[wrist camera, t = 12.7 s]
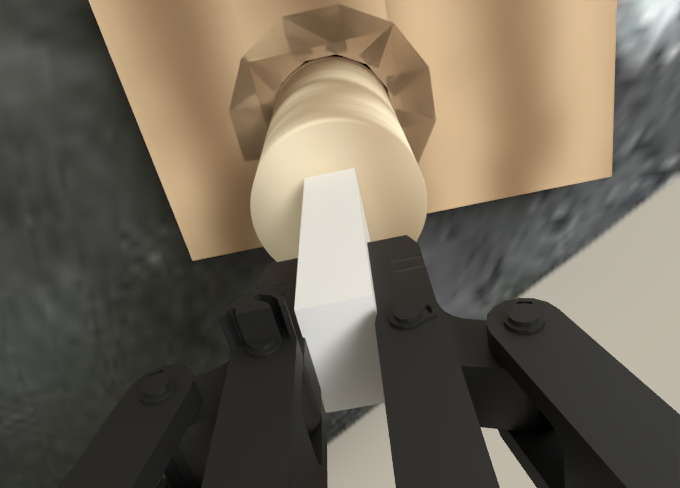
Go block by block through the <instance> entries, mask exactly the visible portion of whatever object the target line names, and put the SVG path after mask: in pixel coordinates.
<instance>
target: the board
mask: <svg viewBox="0 0 680 488" xmlns="http://www.w3.org/2000/svg"><path fill="white" fill-rule="evenodd" d="M89 3H90V5H91V8H92V10H93V13H94V15H95V18H96V20H97V23H98V25H99V28H100V30H101V33H102V35H103V38H104V40H105V43H106V45H107V48H108V50H109V53H110V55H111V58H112V60H113V63H114V65H115V68H116V70H117V73H118V75H119V78H120V80H121V83H122V85H123V88H124V90H125V93H126V95H127V98H128V100H129V103H130V105H131V108H132V110H133V113H134V115H135V118H136V120H137V123H138V125H139V128H140V130H141V133H142V135H143V138H144V140H145V143H146V145H147V148H148V150H149V153H150V155H151V158H152V160H153V163H154V165H155V168H156V170H157V173H158V175H159V178H160V180H161V183H162V185H163V188H164V190H165V193H166V195H167V198H168V200H169V203H170V205H171V208H172V210H173V213H174V216H175V218H176V221H177V223H178V226H179V228H180V231H181V233H182V236H183V238H184V241H185V243H186V246H187V248H188V251H189V253H190V256H191V258H192V261H195V260H200V259H205V258H210V257H215V256H219V255H224V254H229V253H234V252H239V251H244V250H249V249H254V248H259V247H263V245H262V244H261V242H260V240H259V238H258V236H257V234H256V232H255V229H254V226H253V222H252V218H251V210H250V199H251V191H252V186H253V182H254V179H255V175H256V171H257V168H258V164H259V161H260V157H261V153H262V150H263V146H264V143H265V139H266V135H267V132H268V128H269V125H270V121H271V117H272V114H273V107H274V102H275V99H276V96H277V93H278V91H279V89H280V87H281V85H282V83H283V82H284V81H285V79H286V78H287V77H288V76H289V75H290V74H291V73H292V72H293V71H294V70H295V69H296V68H298V67H299V66H300V65H301V64H302V63H303V62H304V61H308V60H313V59H317V58H321V57H326V56H330V55H335V54H337V55H340V56H343V57H346V58H349V59H352V60H355V61H358V62H361V63H364V64H367V65H368V66H369V67H370V68H371V70H372V71H373V72H374V73H375V74H376V76H377V77H378V78H379V79H380V80H381V81H382V83H383V86H384V88H385V89H386V91H387V94H388V96H389V99H390V102H391V105H392V108H393V110H394V112H395V114H396V117H397V119H398V121H399V123H400V125H401V128H402V130H403V132H404V134H405V137H406V139H407V141H408V143H409V146H410V148H411V150H412V152H413V155H414V157H415V159H416V161H417V164H418V166H419V168H420V170H421V173H422V175H423V178H424V181H425V185H426V189H427V199H428V205H427V213H432V212H437V211H442V210H447V209H452V208H457V207H462V206H467V205H472V204H477V203H482V202H487V201H492V200H497V199H502V198H507V197H512V196H517V195H521V194H526V193H531V192H536V191H541V190H546V189H551V188H556V187H561V186H566V185H571V184H576V183H581V182H586V181H591V180H596V179H601V178H606V177H611V176H612V150H613V115H614V81H615V46H616V11H617V0H89Z"/></svg>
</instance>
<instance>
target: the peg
mask: <svg viewBox="0 0 680 488" xmlns="http://www.w3.org/2000/svg"><path fill="white" fill-rule="evenodd" d="M351 168H355V171H356V176H357V181H358V185H359V190H360V195H361V200H362V204H363V209H364V214H365V218H366V223H367V228H368V232H369V237H370V242H373V241H378V240H383V239H388V238H393V237H398V236H403V235H408V236H409V237H410V238H412V239H413V240H414V241H416V242H417V240H418V238H419V236H420V234H421V232H422V229H423V226H424V223H425V219H426V215H427V205H428V199H427V189H426V185H425V181H424V178H423V175H422V173H421V170H420V168H419V166H418V164H417V161H416V159H415V157H414V155H413V152H412V150H411V148H410V146H409V143H408V141H407V139H406V137H405V134H404V132H403V130H402V128H401V125H400V123H399V121H398V119H397V117H396V114H395V112H394V110H393V108H392V105H391V102H390V99H389V96H388V94H387V91H386V89H385V88H384V86H383V84H382V82H381V81H380V80H379V78H378V77H377V76H376V75H375V74H374V73H373V72H372V71H371V70H370V69H368V68H367V67H366V66H364V65H362V64H361V63H359V62H356V61H354V60H351V59H348V58H344V57H336V56H332V57H321V58H317V59H314V60H311V61H309V62H306V63H304V64H303V65H301V66H299V67H298V68H296V69H295V70H294V71H293V72H292V73H291V74H290V75H289V76H288V77H287V78H286V79H285V81H284V82H283V84H282V85H281V87H280V89H279V91H278V93H277V96H276V99H275V102H274V107H273V114H272V117H271V121H270V125H269V128H268V132H267V135H266V139H265V143H264V146H263V150H262V153H261V157H260V161H259V164H258V168H257V171H256V175H255V179H254V182H253V186H252V191H251V199H250V210H251V218H252V222H253V226H254V229H255V232H256V234H257V236H258V238H259V240H260V242H261V244H262V245H263V247H264V248H265V249H266V251H267V252H268V253H269V255H270V256H271V257H272V258H273V259H274V260H275V261H276V262H280V261H285V260H290V259H295V258H298V254H299V242H300V229H301V216H302V204H303V191H304V178H308V177H313V176H317V175H322V174H327V173H332V172H336V171H341V170H346V169H351Z"/></svg>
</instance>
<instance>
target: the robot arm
mask: <svg viewBox="0 0 680 488" xmlns="http://www.w3.org/2000/svg"><path fill="white" fill-rule="evenodd" d="M218 319H219V321H220V324H221V326H222V329H223V331H224V334H225V336H226V339H227V341H228V344H229V347H230V349H231V355H230V359H229V361H228V362H227V363H225V364H224V365H222V366H220V367H218V368H216V369H214V370H211V371H209V372H207V373H204V374H202V375H199V376H197V377H193V374H192V372H191V371H190V370H189V369H187V368H186V367H185V366H179V365H170V366H164V367H160V368H158V369H156V370H153V371H151V372H149V373H147V374H146V375H144V376H143V377H141V378H140V379H138V380H137V381H136V382H135V383H134V384H133V385H132V386H131V387H130V388H129V389H128V391H127V392H126V394H125V395H124V396H123V398H122V399H121V400H120V402H119V403H118V405H117V406H116V407H115V409H114V410H113V412H112V413H111V414H110V416H109V417H108V419H107V420H106V421H105V423H104V424H103V426H102V427H101V428H100V430H99V431H98V433H97V434H96V435H95V437H94V438H93V440H92V441H91V442H90V444H89V445H88V447H87V448H86V449H85V451H84V452H83V454H82V455H81V456H80V458H79V459H78V461H77V462H76V463H75V465H74V466H73V468H72V469H71V470H70V472H69V473H68V475H67V476H66V477H65V479H64V480H63V482H62V483H61V484H60V486H59V487H58V488H327V432H326V428H325V424H324V421H323V418H322V415H321V398H322V401H323V404H324V408H325V411H326V413H329V412H334V411H340V410H346V409H351V408H357V407H363V406H368V405H374V404H380V403H385V406H386V414H387V422H388V430H389V438H390V445H391V452H392V461H393V468H394V476H395V484H396V488H499V484H498V481H497V478H496V475H495V472H494V469H493V466H492V462H491V459H490V456H489V453H488V450H487V447H486V444H485V441H484V437H483V434H482V431H481V428H480V427H485V428H495V429H498V431H499V433H500V436H501V437H502V439H503V440H504V442H505V443H506V444H507V446H508V447H509V448H510V450H511V452H512V453H513V454H514V456H515V457H516V459H517V460H518V461H519V463H520V464H521V466H522V467H523V469H524V470H525V471H526V473H527V474H528V475H529V477H530V478H531V480H532V481H533V483H534V484H535V486H536V487H537V488H680V415H679V414H678V413H677V412H676V411H675V410H674V409H673V408H672V407H670V406H669V405H668V404H667V403H666V402H665V401H663V400H662V399H661V398H660V397H659V396H658V395H656V393H654V392H653V391H652V390H651V389H650V388H649V387H647V386H646V385H645V384H643V382H642V381H641V380H639V379H638V378H637V377H636V376H635V375H634V374H632V373H631V372H630V371H629V370H628V369H627V368H626V367H625V366H623V365H622V364H621V363H620V362H618V360H616V359H615V358H614V357H613V356H612V355H611V354H610V353H608V352H607V351H606V350H605V349H604V348H603V347H601V346H600V345H599V344H598V343H597V342H596V341H595V340H594V339H592V338H591V337H590V336H589V335H588V334H587V333H585V332H584V331H583V330H582V329H581V328H580V327H579V326H577V325H576V324H575V323H574V322H573V321H572V320H571V319H569V318H568V317H567V316H566V315H565V314H564V313H563V312H561V311H560V310H559V309H558V308H556V307H555V306H553V305H551V304H550V303H548V302H545V301H541V300H537V299H534V298H531V299H530V298H517V299H512V300H508V301H504V302H502V303H500V304H498V305H497V306H495V307H493V309H492V310H491V311H490V312H489V313H488V314H487V320H473V319H464V318H459V317H456V316H452V315H450V314H448V313H447V312H445V311H444V310H443V309H441V307H440V306H439V304H438V303H437V301H436V299H435V295H434V292H433V289H432V286H431V283H430V280H429V276H428V273H427V270H426V267H425V264H424V260H423V257H422V254H421V251H420V248H419V245H418V243H417V242H416V241H414V240H413V239H412V238H410V237H409V236H408V235H403V236H398V237H393V238H388V239H383V240H378V241H373V242H370V237H369V232H368V228H367V223H366V218H365V214H364V209H363V204H362V200H361V195H360V190H359V185H358V181H357V176H356V171H355V168H351V169H346V170H341V171H336V172H332V173H327V174H322V175H317V176H313V177H308V178H304V191H303V204H302V216H301V229H300V242H299V254H298V258H295V259H290V260H285V261H280V262H275V263H270V264H268V265H267V266H266V268H265V269H264V270H263V271H262V273H261V274H260V275H259V276H258V282H257V287H256V292H253V293H250V294H246V295H243V296H241V297H239V298H237V299H236V300H234V301H232V302H231V303H229V304H228V305H227V306H226V307H225V308H224V309H223V310H222V312H221V314H220V315H219V317H218ZM161 476H162V478H161ZM160 478H161V480H160ZM159 480H160V481H159ZM158 482H159V483H158ZM157 483H158V485H157ZM156 485H157V486H156Z"/></svg>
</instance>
